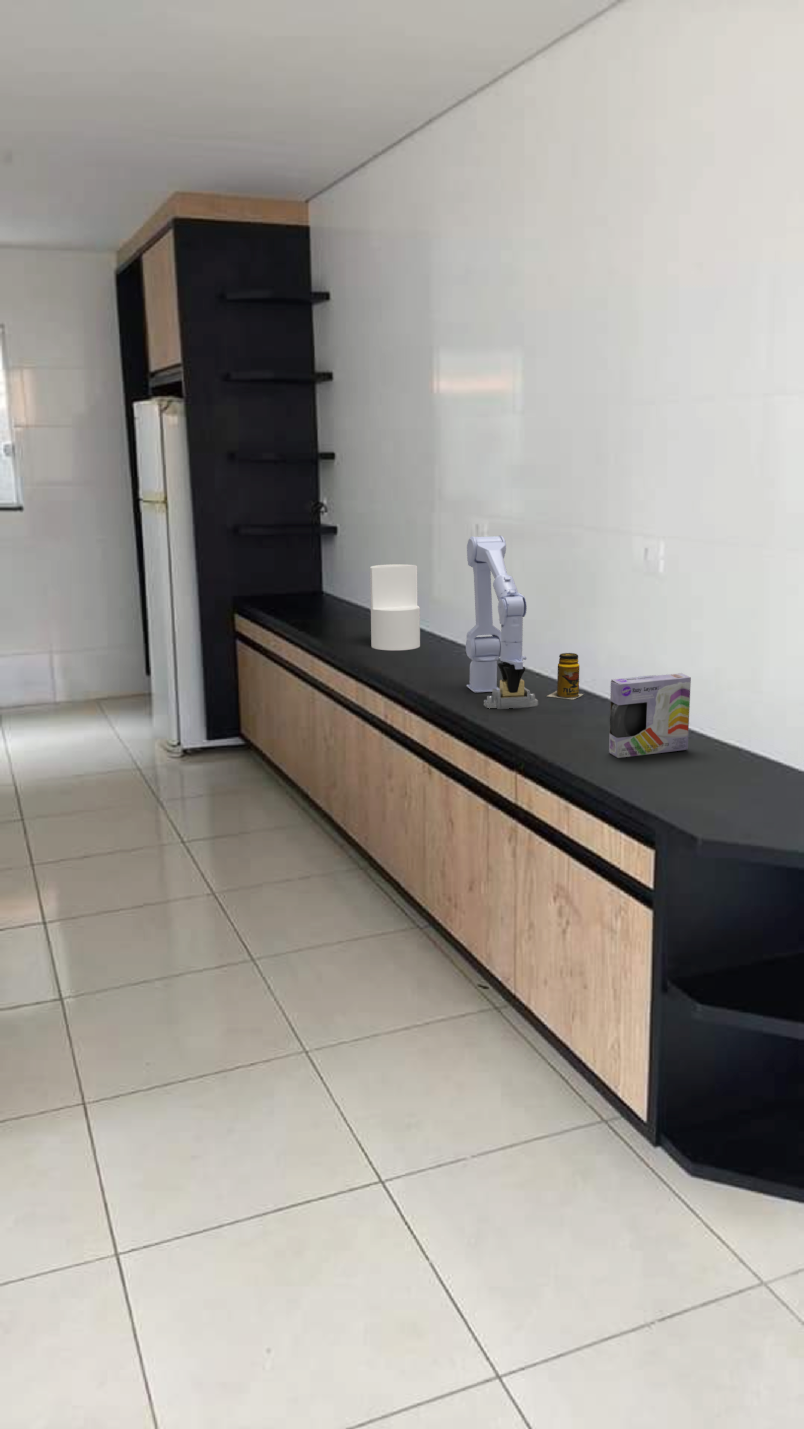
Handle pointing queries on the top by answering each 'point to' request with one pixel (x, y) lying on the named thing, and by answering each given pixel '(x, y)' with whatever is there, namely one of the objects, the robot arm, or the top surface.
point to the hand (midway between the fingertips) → (511, 690)
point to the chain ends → (510, 700)
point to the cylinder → (394, 607)
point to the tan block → (505, 690)
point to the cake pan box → (649, 714)
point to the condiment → (567, 677)
